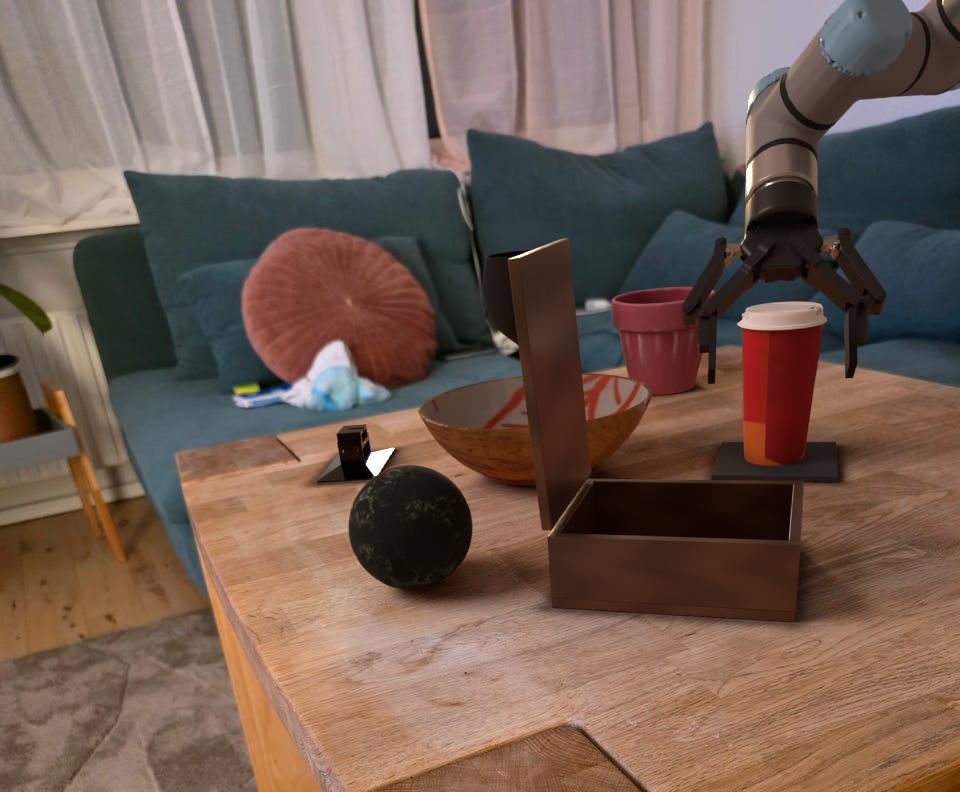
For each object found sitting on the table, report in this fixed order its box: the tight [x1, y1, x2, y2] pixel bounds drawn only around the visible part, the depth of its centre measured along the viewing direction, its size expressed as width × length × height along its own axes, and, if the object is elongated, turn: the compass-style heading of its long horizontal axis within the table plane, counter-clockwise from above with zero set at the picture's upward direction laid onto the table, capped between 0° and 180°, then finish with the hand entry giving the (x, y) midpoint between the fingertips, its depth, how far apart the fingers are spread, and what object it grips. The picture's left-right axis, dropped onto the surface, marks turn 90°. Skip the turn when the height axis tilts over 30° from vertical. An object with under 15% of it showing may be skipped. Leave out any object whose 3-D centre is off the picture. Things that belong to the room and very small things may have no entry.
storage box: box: [546, 478, 805, 622], centre depth 70 cm, size 18×14×6 cm
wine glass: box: [482, 249, 532, 348], centre depth 124 cm, size 10×10×20 cm
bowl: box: [417, 372, 653, 487], centre depth 97 cm, size 25×25×8 cm
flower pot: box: [611, 286, 716, 396], centre depth 126 cm, size 14×14×13 cm
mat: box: [710, 441, 839, 483], centre depth 94 cm, size 12×12×1 cm
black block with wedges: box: [315, 424, 396, 485], centre depth 107 cm, size 12×7×5 cm, turn 175°
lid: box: [508, 237, 592, 532], centre depth 67 cm, size 19×14×1 cm
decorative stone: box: [348, 464, 474, 591], centre depth 72 cm, size 10×10×10 cm
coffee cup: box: [736, 301, 828, 466], centre depth 90 cm, size 8×8×15 cm
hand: (780, 374), depth 91 cm, fingers open, 13 cm apart
